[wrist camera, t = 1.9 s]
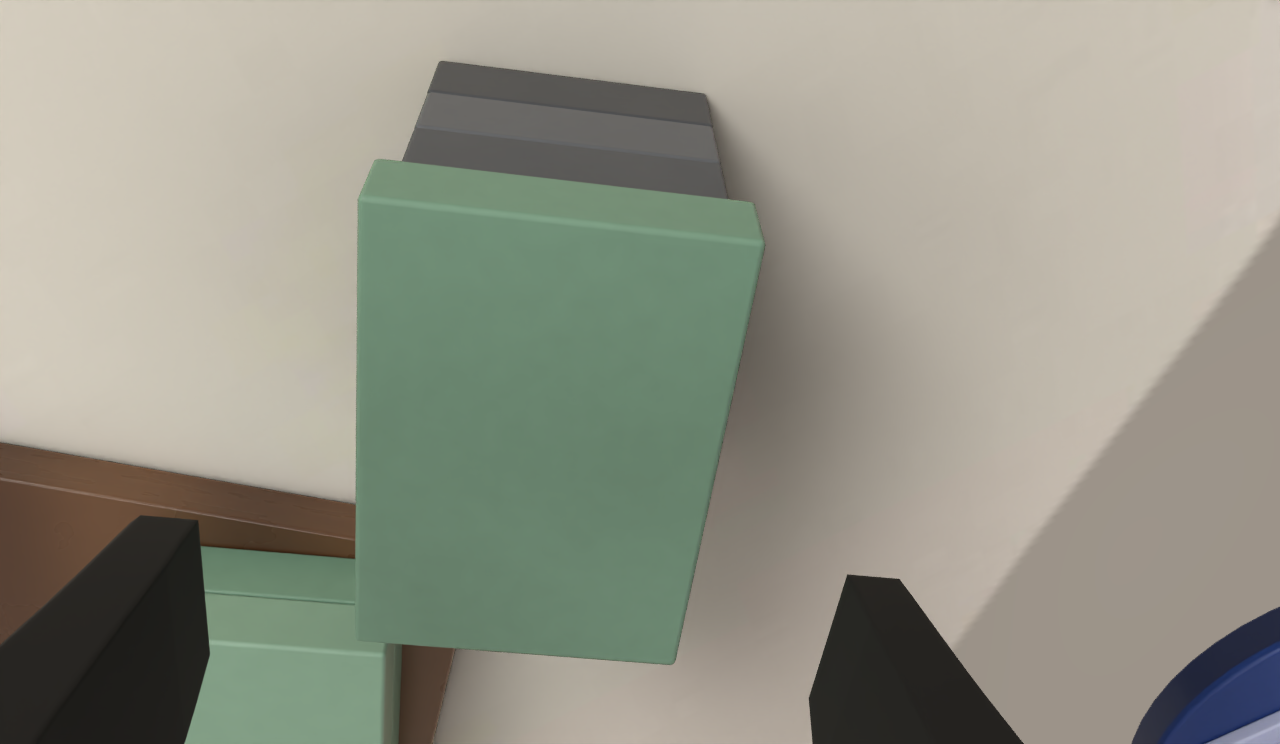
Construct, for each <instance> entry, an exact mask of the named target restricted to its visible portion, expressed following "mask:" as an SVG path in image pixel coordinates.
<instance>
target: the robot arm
mask: <svg viewBox="0 0 1280 744" xmlns="http://www.w3.org/2000/svg"><path fill="white" fill-rule="evenodd" d="M209 657H210V647H209V636H208V624H207V613H206V602H205V590H204V579H203V567H202V556H201V545H200V533H199V522H198V520H193V519H181V518H169V517H157V516H145V515H140V516H139V517H137V518H136V519H134V520H133V521H132V522H130V523H129V524H128V525H127V526H126V527H125V528H124V529H123V530H122V531H121V532H120V533H119V534H118V535H117V536H116V537H115V538H114V539H113V540H112V541H111V542H110V543H109V544H108V545H107V546H106V547H105V548H104V549H103V550H102V551H101V552H99V553H98V554H97V555H96V556H95V557H94V558H93V559H92V560H91V561H90V562H89V563H88V564H87V565H86V566H85V567H84V568H83V569H82V570H81V571H80V572H79V573H78V574H77V575H76V576H75V577H74V578H72V579H71V580H70V581H69V582H68V583H67V584H66V585H65V586H64V587H63V588H62V589H61V590H60V591H59V592H58V593H57V594H55V595H54V596H53V597H52V598H51V599H50V600H49V601H48V602H47V603H46V604H45V605H44V606H43V607H41V608H40V609H39V610H38V611H37V612H36V613H35V614H34V615H33V616H31V617H30V618H29V619H28V620H27V621H26V622H25V623H24V624H23V625H21V626H20V627H19V628H18V629H17V630H16V631H15V632H14V633H13V634H11V635H10V636H9V637H8V638H7V639H6V640H5V641H4V642H2V643H1V644H0V744H185V741H186V738H187V734H188V731H189V728H190V724H191V721H192V717H193V714H194V711H195V707H196V704H197V700H198V697H199V693H200V689H201V686H202V682H203V679H204V675H205V671H206V668H207V664H208V660H209ZM809 706H810V717H811V729H812V741H813V744H1024V743H1023V742H1022V741H1021V740H1020V739H1019V737H1018V736H1017V735H1016V734H1015V733H1014V731H1013V730H1012V728H1011V727H1010V726H1009V725H1008V724H1007V722H1006V721H1005V720H1004V718H1003V717H1002V716H1001V715H1000V713H999V712H998V711H997V710H996V708H995V707H994V706H993V704H992V703H991V702H990V701H989V699H988V698H987V697H986V696H985V694H984V693H983V692H982V690H981V689H980V688H979V686H978V685H977V684H976V682H975V681H974V680H973V679H972V677H971V676H970V675H969V673H968V672H967V671H966V669H965V668H964V667H963V665H962V664H961V662H960V661H959V660H958V658H957V657H956V656H955V654H954V653H953V652H952V650H951V649H950V647H949V646H948V645H947V643H946V642H945V641H944V639H943V638H942V637H941V635H940V634H939V632H938V631H937V630H936V628H935V627H934V625H933V624H932V623H931V621H930V620H929V619H928V617H927V616H926V614H925V613H924V612H923V610H922V609H921V608H920V606H919V605H918V603H917V602H916V601H915V599H914V598H913V597H912V595H911V594H910V593H909V591H908V590H907V589H906V587H905V586H904V585H903V583H902V582H901V581H900V579H893V578H881V577H869V576H857V575H847V578H846V581H845V584H844V587H843V590H842V594H841V597H840V600H839V603H838V606H837V610H836V613H835V616H834V619H833V622H832V626H831V629H830V632H829V635H828V638H827V642H826V645H825V648H824V651H823V655H822V658H821V661H820V664H819V667H818V671H817V674H816V677H815V680H814V683H813V687H812V690H811V693H810V696H809ZM1205 744H1280V710H1279V711H1277V712H1275V713H1272V714H1270V715H1268V716H1266V717H1263V718H1261V719H1259V720H1257V721H1255V722H1252V723H1250V724H1248V725H1246V726H1243V727H1241V728H1239V729H1237V730H1234V731H1232V732H1230V733H1228V734H1225V735H1223V736H1221V737H1219V738H1216V739H1214V740H1212V741H1210V742H1207V743H1205Z"/></svg>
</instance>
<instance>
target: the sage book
mask: <svg viewBox="0 0 1280 744" xmlns="http://www.w3.org/2000/svg"><path fill="white" fill-rule="evenodd" d="M764 249H765V241H764V238H763V234H762V230H761V226H760V222H759V219H758V215H757V211H756V207H755V204H753V203H751V202H746V201H738V200H729V199H721V198H712V197H703V196H695V195H686V194H678V193H669V192H660V191H652V190H643V189H635V188H626V187H617V186H609V185H600V184H592V183H583V182H574V181H566V180H557V179H549V178H540V177H531V176H523V175H514V174H506V173H497V172H488V171H480V170H471V169H463V168H454V167H445V166H437V165H428V164H420V163H411V162H402V161H394V160H385V159H377V160H375V161H374V163H373V165H372V167H371V170H370V172H369V174H368V177H367V179H366V181H365V184H364V186H363V188H362V191H361V193H360V195H359V198H358V241H357V386H356V531H355V637H356V640H358V641H364V642H377V643H390V644H403V645H416V646H429V647H442V648H456V649H469V650H482V651H495V652H508V653H521V654H534V655H547V656H560V657H573V658H586V659H599V660H612V661H625V662H638V663H651V664H664V665H671V664H673V663H674V662H675V660H676V656H677V651H678V646H679V642H680V637H681V633H682V628H683V623H684V619H685V614H686V610H687V605H688V600H689V596H690V591H691V586H692V582H693V577H694V573H695V568H696V563H697V559H698V554H699V549H700V545H701V540H702V536H703V531H704V526H705V522H706V517H707V513H708V508H709V503H710V499H711V494H712V489H713V485H714V480H715V476H716V471H717V466H718V462H719V457H720V453H721V448H722V443H723V439H724V434H725V429H726V425H727V420H728V416H729V411H730V406H731V402H732V397H733V392H734V388H735V383H736V379H737V374H738V369H739V365H740V360H741V356H742V351H743V346H744V342H745V337H746V332H747V328H748V323H749V319H750V314H751V309H752V305H753V300H754V296H755V291H756V286H757V282H758V277H759V272H760V268H761V263H762V259H763V254H764Z"/></svg>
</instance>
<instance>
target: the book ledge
mask: <svg viewBox="0 0 1280 744" xmlns="http://www.w3.org/2000/svg"><path fill="white" fill-rule="evenodd" d="M140 515H145V516H157V517H169V518H181V519H193V520H198V522H199V533H200V545H201V546H208V547H220V548H232V549H244V550H256V551H268V552H280V553H292V554H304V555H316V556H328V557H340V558H352V559H355V531H356V505H355V504H349V503H344V502H338V501H332V500H326V499H321V498H315V497H309V496H303V495H298V494H292V493H286V492H281V491H275V490H269V489H263V488H258V487H252V486H246V485H241V484H235V483H229V482H223V481H218V480H212V479H206V478H201V477H195V476H189V475H183V474H178V473H172V472H166V471H161V470H155V469H149V468H143V467H138V466H132V465H126V464H121V463H115V462H109V461H103V460H98V459H92V458H86V457H80V456H75V455H69V454H63V453H58V452H52V451H46V450H40V449H35V448H29V447H23V446H18V445H12V444H6V443H0V644H1V643H2V642H4V641H5V640H6V639H7V638H8V637H9V636H10V635H11V634H13V633H14V632H15V631H16V630H17V629H18V628H19V627H20V626H21V625H23V624H24V623H25V622H26V621H27V620H28V619H29V618H30V617H31V616H33V615H34V614H35V613H36V612H37V611H38V610H39V609H40V608H41V607H43V606H44V605H45V604H46V603H47V602H48V601H49V600H50V599H51V598H52V597H53V596H54V595H55V594H57V593H58V592H59V591H60V590H61V589H62V588H63V587H64V586H65V585H66V584H67V583H68V582H69V581H70V580H71V579H72V578H74V577H75V576H76V575H77V574H78V573H79V572H80V571H81V570H82V569H83V568H84V567H85V566H86V565H87V564H88V563H89V562H90V561H91V560H92V559H93V558H94V557H95V556H96V555H97V554H98V553H99V552H101V551H102V550H103V549H104V548H105V547H106V546H107V545H108V544H109V543H110V542H111V541H112V540H113V539H114V538H115V537H116V536H117V535H118V534H119V533H120V532H121V531H122V530H123V529H124V528H125V527H126V526H127V525H128V524H129V523H130V522H132V521H133V520H134V519H136V518H137V517H139V516H140ZM454 652H455V648H442V647H429V646H416V645H403V644H402V663H401V690H400V716H399V743H398V744H433V741H434V736H435V732H436V728H437V724H438V719H439V715H440V711H441V707H442V702H443V698H444V694H445V690H446V686H447V681H448V677H449V673H450V669H451V664H452V660H453V656H454Z"/></svg>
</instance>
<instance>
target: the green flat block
mask: <svg viewBox="0 0 1280 744" xmlns="http://www.w3.org/2000/svg"><path fill="white" fill-rule="evenodd" d="M201 556H202V567H203V579H204V590H205V602H206V613H207V624H208V636H209V647H210V657H209V660H208V664H207V668H206V671H205V675H204V679H203V682H202V686H201V689H200V693H199V697H198V700H197V704H196V707H195V711H194V714H193V717H192V721H191V724H190V728H189V731H188V734H187V738H186V741H185V744H398V743H399V716H400V690H401V663H402V644H390V643H377V642H364V641H358V640H356V637H355V559H352V558H340V557H328V556H316V555H304V554H292V553H280V552H268V551H256V550H244V549H232V548H220V547H208V546H201Z"/></svg>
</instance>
